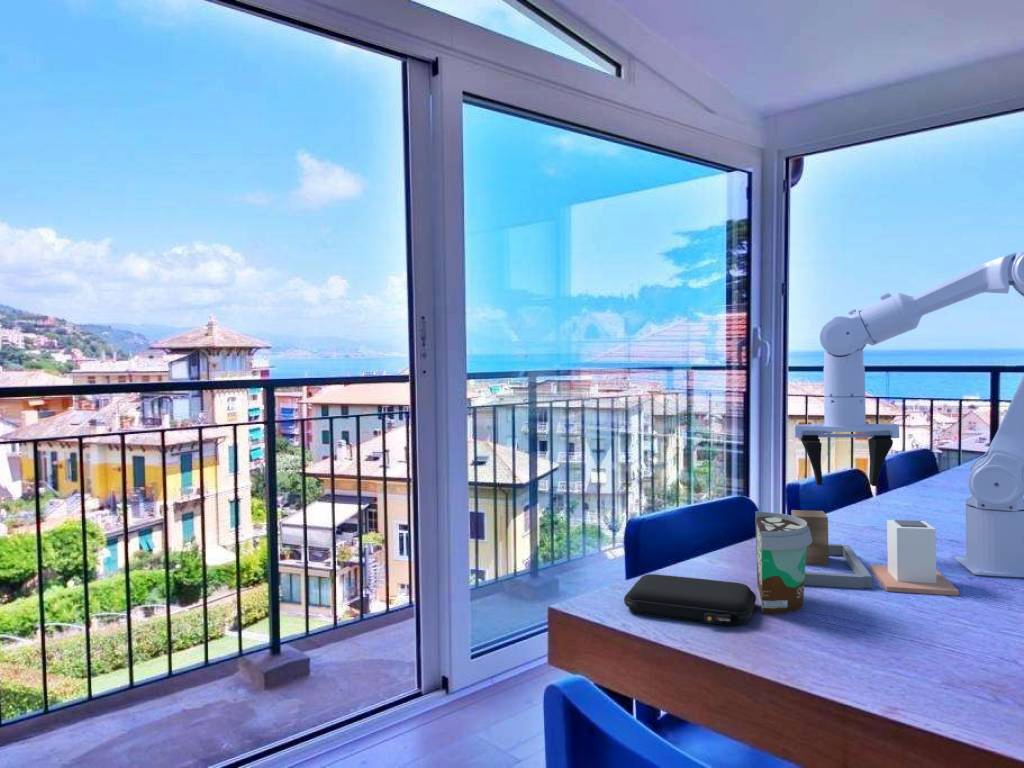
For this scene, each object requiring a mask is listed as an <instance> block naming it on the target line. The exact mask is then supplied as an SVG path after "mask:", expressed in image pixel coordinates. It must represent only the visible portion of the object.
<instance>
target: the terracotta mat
mask: <svg viewBox="0 0 1024 768" xmlns="http://www.w3.org/2000/svg"><path fill="white" fill-rule="evenodd" d="M869 569H870V571H871V572H872V573H873V575H874V576H875V578H876V579H877V580H878V582H879V583H880V584H881V586H882V587H883V588H884V589H885V591H886V592H895V593H908V594H909V593H910V594H924V595H925V594H926V595H927V594H928V595H941V596H957V597H959V596H960V595H959V594H960V592H959V590H958V589H957V588H956V587H955V586H954V585H953V584H952V583H951V582H950V581H949V580H948V579H947V578H946V577H945V576H943V574H942V573H940V572H939V570H937V569H936V583H923V582H902V581H897V580H896V579H895V578H894V577H893V576H892V575H891V574H890V573H889V572H888V564H887V565H885V564H869Z"/></svg>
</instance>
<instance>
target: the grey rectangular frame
mask: <svg viewBox="0 0 1024 768" xmlns="http://www.w3.org/2000/svg"><path fill="white" fill-rule="evenodd" d="M828 550H829V556H841V557H843V558H844V559H845V562H846V563H847V565H848V566H849V567H850V570H851V571H852V573H851V574H850V573H835V572H817V571H816V572H813V571H805V581H804V586H812V587H826V588H827V587H828V588H845V589H862V590H863V589H864V590H865V588H867V589H872V588H873V577H872V575H871V574H870V572H869V571H868V569H867V567H865V565H864V564H863V562H862V561H861V560H860V558H859V557H858V556H857V554H856V552H855V551H854V550H853V549H852V548H851V545H849V544H842V543H829V542H828ZM853 573H854V574H853Z"/></svg>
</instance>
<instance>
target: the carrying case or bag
mask: <svg viewBox="0 0 1024 768" xmlns="http://www.w3.org/2000/svg"><path fill="white" fill-rule="evenodd" d="M756 601H757V595H756V593H755V592H754V591H753V590H752V589H751V588H750V587H749V586H748V585H747V584H744V583H740V582H733V581H726V580H725V581H724V580H717V579H716V580H715V579H707V578H706V579H705V578H697V577H685V576H677V575H666V574H655V573H653V574H652V573H650V574H644V575H643V576H641V577H640V578H639V580H637V581H636V582H635V584H634V585H633V586H632V587H631V589H630V590H629V591H628V592H627V593H626V594H625V595H624V597H623V602H624V604H625V606H626V607H628V610H629V611H630V612H632V613H633V614H638V615H644V616H652V617H660V618H665V617H666V618H667V619H674V620H680V621H681V620H682V621H690V622H697V623H698V622H699V623H706V624H713V625H723V626H733V627H734V626H735V627H736V626H737V627H738V626H742V625H745V623H746V622H747V621H748V620H749V619H750V618H751V617H752V615H753V611H754V608H755V605H756Z"/></svg>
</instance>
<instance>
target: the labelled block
mask: <svg viewBox="0 0 1024 768" xmlns="http://www.w3.org/2000/svg"><path fill="white" fill-rule="evenodd" d="M886 531H887V532H886V533H887V534H886V536H887V538H886V539H887V540H886V541H887V547H886V548H887V550H886V551H887V566H888V572H889V573H890V574H891V575H892V576H893V577H894V578H895V579H896V580H897V581H902V582H923V583H936V570H937V538H936V537H937V536H936V532H937V531H936V528H935V527H933V526H932V525H931V524H929V523H927V522H926V521H925V520H909V519H908V520H906V519H900V520H898V519H895V520H892V519H891V520H890V519H887V520H886Z"/></svg>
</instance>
